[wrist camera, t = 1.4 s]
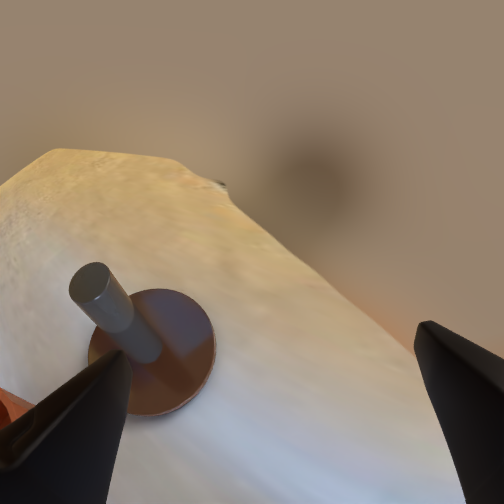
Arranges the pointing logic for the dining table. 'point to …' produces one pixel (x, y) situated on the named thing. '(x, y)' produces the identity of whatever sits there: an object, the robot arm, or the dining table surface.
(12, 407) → the crock
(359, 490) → the dining table surface
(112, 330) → the brown disc with post
